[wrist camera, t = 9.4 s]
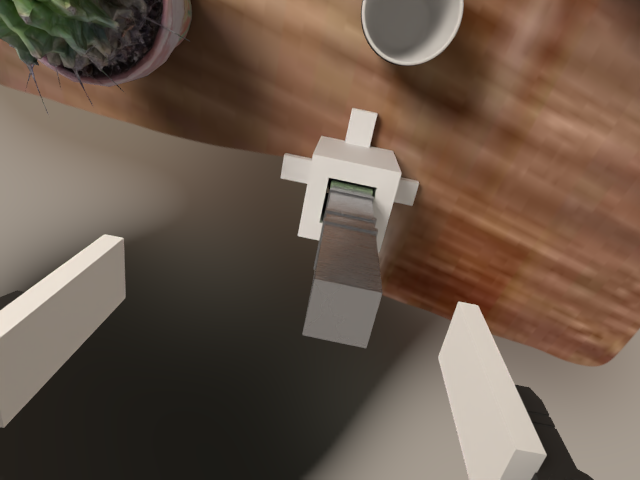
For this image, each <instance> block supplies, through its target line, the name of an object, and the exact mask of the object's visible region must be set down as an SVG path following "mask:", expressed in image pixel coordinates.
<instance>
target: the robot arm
mask: <svg viewBox="0 0 640 480" xmlns="http://www.w3.org/2000/svg"><path fill="white" fill-rule="evenodd" d="M124 299H125V264H124V238H121V237H116V236H110V235H105V234H104V235H103V236H101V237H100V238H99V239H97V240H96V241H95V242H93V243H92V244H91V245H89V246H88V247H86V248H85V249H84V250H82V251H81V252H80V253H78V254H77V255H75V256H74V257H73V258H71V259H70V260H69V261H67V262H66V263H64V264H63V265H62V266H60V267H59V268H58V269H56V270H55V271H54V272H52V273H51V274H49V275H48V276H47V277H45V278H44V279H43V280H41V281H40V282H39V283H37V284H36V285H34V286H33V287H32V288H30V289H29V290H28V291H26V292H21V291H15V292H12V293H10V294H7V295H5V296H2V297H0V427H5V426H6V425H7V424H8V423H9V421H11V420H12V418H13V417H14V416H15V415H16V414H17V413H18V412H19V411H20V410H21V409H22V408H23V407H24V405H26V403H27V402H28V401H29V400H30V399H31V398H32V397H33V396H34V395H35V394H36V393H37V392H38V391H39V390H40V389H41V387H42V386H43V385H44V384H45V383H46V382H47V381H48V380H49V379H50V378H51V377H52V376H53V375H54V373H56V371H57V370H58V369H59V368H60V367H61V366H62V365H63V364H64V363H65V362H66V361H67V360H68V358H70V356H71V355H72V354H73V353H74V352H75V351H76V350H77V349H78V348H79V347H80V346H81V345H82V344H83V343H84V341H85V340H86V339H87V338H88V337H89V336H90V335H91V334H92V333H93V332H94V331H95V330H96V329H97V328H98V326H100V324H101V323H102V322H103V321H104V320H105V319H106V318H107V317H108V316H109V315H110V314H111V313H112V312H113V310H114V309H115V308H116V307H117V306H118V305H119V304H120V303H121V302H122V301H123V300H124ZM438 359H439V363H440V367H441V371H442V374H443V379H444V383H445V386H446V390H447V394H448V398H449V402H450V406H451V410H452V414H453V418H454V421H455V426H456V429H457V433H458V438H459V441H460V446H461V449H462V453H463V457H464V461H465V465H466V469H467V473H468V477H469V480H593V479H592V478H591V477H590V476H589V475H587V474H585V473H583V472H582V471H580V470H578V469H577V468H576V466H575V464H574V462H573V460H572V458H571V456H570V454H569V453H568V450H567V449H566V447H565V445H564V443H563V441H562V439H561V437H560V435H559V433H558V431H557V429H555V425H554V423H553V421H552V420H551V418H550V417H549V414H548V412H547V410H546V408H545V406H544V404H543V402H542V400H541V399H540V398H539V397H538V396H537V395H536V394H535V393H534V392H533V391H532V390H531V389H530V388H529V387H524V386H519V385H514V382H513V380H512V378H511V376H510V374H509V372H508V369H507V367H506V365H505V363H504V361H503V359H502V357H501V354H500V352H499V350H498V348H497V346H496V343H495V341H494V339H493V337H492V335H491V333H490V330H489V328H488V326H487V324H486V322H485V319H484V317H483V315H482V313H481V311H480V309H479V306H478V305H474V304H469V303H464V302H458V304H457V307H456V309H455V312H454V315H453V318H452V320H451V323H450V326H449V329H448V331H447V334H446V337H445V340H444V342H443V345H442V348H441V351H440V354H439V356H438Z"/></svg>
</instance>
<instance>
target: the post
mask: <svg viewBox="0 0 640 480" xmlns="http://www.w3.org/2000/svg"><path fill="white" fill-rule="evenodd" d="M372 194H373V189H371V186H366V185H361V184H357V183H352V182H347V181H342V180H338V179H333V180H332V181H331V186H330V191H329V195H328V200H327V205H326V210H325V214H324V219H323V224H322V229H321V235H320V239H319V244H318V249H317V254H316V259H315V263H314V268H313V269H315V273H314V278H313V283H312V288H311V294H310V299H309V304H308V309H307V315H306V319H305V325H304V329H303V335H305V336H310V337H315V338H320V339H324V340H329V341H334V342H339V343H343V344H348V345H353V346H358V347H363V348H366V347H367V344H368V340H369V337H370V334H371V330H372V327H373V323H374V320H375V316H376V313H377V309H378V306H379V303H380V299H381V296H382V285H381V276H380V267H379V258H378V249H377V240H376V238H377V234H378V229H377V228H375V225H376V221H377V219H376V218H375V217H374V213H373V200H374V197H373V196H372Z"/></svg>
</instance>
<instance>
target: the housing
mask: <svg viewBox="0 0 640 480" xmlns="http://www.w3.org/2000/svg"><path fill="white" fill-rule="evenodd" d="M376 118H377V113H376V112H371V111H366V110H361V109H357V108H352V112H351V116H350V121H349V126H348V130H347V135H346V139H345V141H344V140H339V139H334V138H330V137H325V136H321V138H320V140H319V142H318V144H317V146H316V149H315V151H314V153H313V157H312V158H307V157H303V156H298V155H293V154H288V153H285V154H284V159H283V165H282V171H281V178H282V179H287V180H291V181H296V182H301V183H306V184H307V189H306V194H305V200H304V206H303V210H302V216H301V221H300V226H299V232H298V236H300V237H305V238H310V239H315V240H319V239H320V235H321V229H322V224H323V219H324V214H325V210H326V205H327V200H328V195H329V193H326V191H327V186H328V181H329V178H333V179H338V180H342V181H347V182H352V183H357V184H361V185H366V186H371V189H373V194H372V196H373V197H374V200H373V213H374V217H375V218H376V219H377V221H376V225H375V228H377V229H378V234H377V238H376V240H377V249H378V253H380V249H381V246H382V242H383V238H384V235H385V231H386V228H387V224H388V220H389V217H390V213H391V210H392V206H393V202H396V203H401V204H405V205H410V206H413V202H414V199H415V196H416V192H417V189H418V186H419V182H418V181H417V180H412V179H407V178H402V177H401V173H402V172H401V170H400V167H399V165H398V162H397V160H396V157H395V155H394V152H393V151H391V150H387V149H382V148H377V147H372V146H370V143H371V139H372V135H373V130H374V126H375V122H376Z"/></svg>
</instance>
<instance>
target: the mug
mask: <svg viewBox="0 0 640 480" xmlns="http://www.w3.org/2000/svg"><path fill="white" fill-rule="evenodd" d="M463 6H464V2H463V0H363V1H362V7H361V23H362V29H363V32H364V35H365V38H366V40H367V42H368V44H369V45H370V47H371V48H372V50H373V51H374V52H375V53H376V54H377V55H378V56H380V57H381V58H382V59H384V60H385V61H387V62H390V63H392V64H395V65H400V66H414V65H419V64H423V63H425V62H428V61H430V60H432V59H433V58H435V57H437V56H438V55H439V54H441V53H442V52H443V51H444V50H445V49H446V48H447V47H448V45H449V44H450V43H451V42H452V40H453V38H454V37H455V35H456V33H457V31H458V29H459V26H460V23H461V20H462V15H463Z"/></svg>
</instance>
